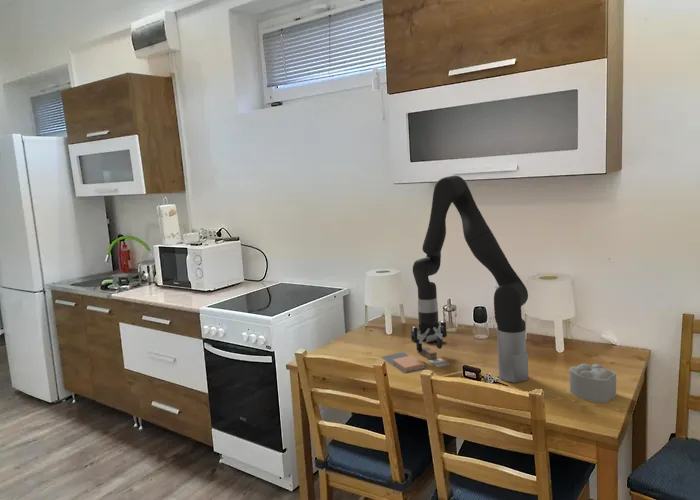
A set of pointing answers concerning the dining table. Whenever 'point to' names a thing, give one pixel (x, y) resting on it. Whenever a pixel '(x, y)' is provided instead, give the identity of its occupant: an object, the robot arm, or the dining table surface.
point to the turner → (432, 357)
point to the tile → (408, 363)
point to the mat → (394, 356)
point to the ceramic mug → (431, 336)
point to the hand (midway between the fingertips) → (429, 350)
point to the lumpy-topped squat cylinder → (593, 383)
